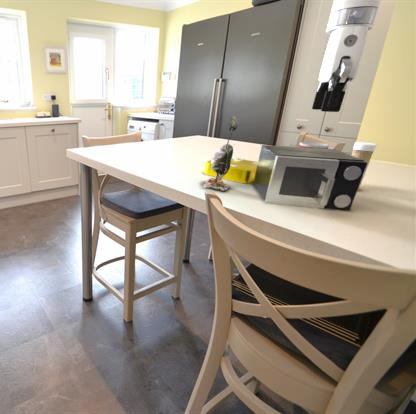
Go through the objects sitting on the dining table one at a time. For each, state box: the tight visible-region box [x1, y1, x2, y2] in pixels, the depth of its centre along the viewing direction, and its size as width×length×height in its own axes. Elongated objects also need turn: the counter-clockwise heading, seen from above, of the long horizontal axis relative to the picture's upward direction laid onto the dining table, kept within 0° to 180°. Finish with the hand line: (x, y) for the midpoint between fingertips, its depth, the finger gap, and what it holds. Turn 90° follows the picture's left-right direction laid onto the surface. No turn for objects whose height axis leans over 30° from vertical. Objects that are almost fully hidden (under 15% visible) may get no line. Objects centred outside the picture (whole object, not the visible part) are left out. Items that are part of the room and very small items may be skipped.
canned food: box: [298, 141, 330, 149], centre depth 93 cm, size 8×8×11 cm
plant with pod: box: [201, 115, 239, 192], centre depth 79 cm, size 8×11×20 cm
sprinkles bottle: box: [350, 141, 377, 192], centre depth 81 cm, size 5×5×14 cm
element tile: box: [203, 156, 258, 184], centre depth 94 cm, size 15×15×5 cm
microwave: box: [252, 144, 367, 212], centre depth 73 cm, size 16×18×12 cm
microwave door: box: [264, 155, 340, 210], centre depth 65 cm, size 8×13×12 cm, turn 75°
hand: (324, 110), depth 64 cm, fingers open, 9 cm apart
